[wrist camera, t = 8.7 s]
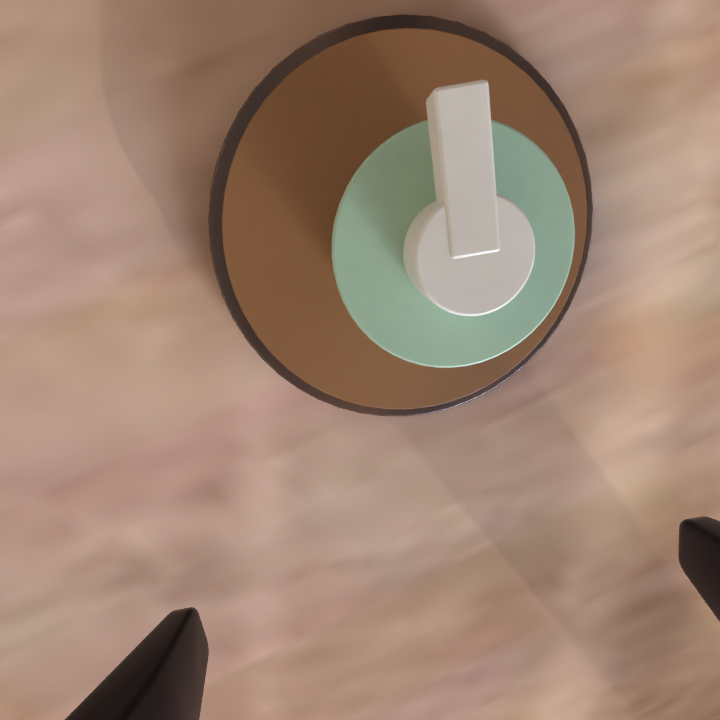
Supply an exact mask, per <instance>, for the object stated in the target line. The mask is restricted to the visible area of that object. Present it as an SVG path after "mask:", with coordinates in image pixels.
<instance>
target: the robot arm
mask: <svg viewBox="0 0 720 720" xmlns="http://www.w3.org/2000/svg"><path fill="white" fill-rule="evenodd" d="M679 562H680V565H681V567H682V569H683V571H684V572H685V574H686V575H687V577H688V578H689V580H690V581H691V582H692V584H693V585H694V587H695V588H696V589H697V591H698V592H699V593H700V595H701V596H702V598H703V599H704V600H705V602H706V603H707V605H708V606H709V607H710V609H711V610H712V612H713V613H714V614H715V616H716V617H717V619H718V620H719V621H720V521H718V520H715V519H712V518H709V517H696V518H690V519H685V520H683V521H682V522H681V524H680V527H679ZM208 652H209V650H208V642H207V638H206V635H205V632H204V629H203V626H202V622H201V619H200V616H199V613H198V611H197V610H196V609H195V608H193V607H190V608H185V609H179V610H175V611H172V612H171V613H170V614H168V615H167V616H166V617H165V618H164V619H163V620H162V621H161V622H160V623H159V625H158V626H157V627H156V628H155V629H154V630H153V631H152V632H151V633H150V634H149V635H148V636H147V637H146V638H145V639H144V640H143V641H142V642H141V643H140V644H139V645H138V646H137V647H136V648H135V649H134V650H133V651H132V652H131V653H130V654H129V655H128V656H127V657H126V658H125V659H124V660H123V661H122V662H121V663H120V664H119V665H118V666H117V667H116V668H115V669H114V670H113V671H112V672H111V673H110V674H109V675H108V676H107V677H106V678H105V679H104V680H103V681H102V682H101V683H100V684H99V685H98V687H97V688H96V689H95V690H94V691H93V692H92V693H91V694H90V695H89V696H88V697H87V698H86V699H85V700H84V701H83V702H82V703H81V704H80V705H79V706H78V707H77V708H76V709H75V710H74V711H73V712H72V713H71V714H70V715H69V716H68V717H67V718H66V719H65V720H199V717H200V710H201V703H202V696H203V689H204V683H205V676H206V669H207V662H208Z"/></svg>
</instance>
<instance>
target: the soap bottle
mask: <svg viewBox="0 0 720 720" xmlns="http://www.w3.org/2000/svg"><path fill="white" fill-rule="evenodd" d="M586 219H587V204H586V192H585V183H584V178H583V173H582V169H581V164H580V159H579V157H578V154H577V151H576V148H575V145H574V142H573V140H572V137H571V135H570V133H569V131H568V129H567V127H566V125H565V123H564V121H563V119H562V117H561V115H560V113H559V112H558V110H557V109H556V108H555V106H554V105H553V103H552V102H551V101H550V99H549V98H548V96H547V95H546V93H545V92H544V91H543V90H542V89H541V88H540V87H539V86H538V85H537V84H536V83H535V81H534V80H533V79H532V78H531V77H530V76H529V75H528V74H527V73H526V72H524V71H523V70H522V69H521V68H519V67H518V66H517V65H516V64H514V63H513V62H512V61H510V60H509V59H508V58H507V57H505V56H503V55H501V54H500V53H498V52H496V51H494V50H493V49H491V48H489V47H487V46H486V45H484V44H481V43H479V42H476V41H474V40H471V39H468V38H466V37H463V36H461V35H457V34H452V33H448V32H443V31H439V30H434V29H419V28H399V29H388V30H379V31H375V32H371V33H367V34H363V35H359V36H355V37H352V38H350V39H347V40H345V41H343V42H340V43H338V44H335V45H333V46H330V47H328V48H327V49H325V50H323V51H322V52H320V53H318V54H317V55H315V56H313V57H312V58H310V59H308V60H307V61H305V62H304V63H303V64H302V65H300V66H299V67H298V68H297V69H295V70H294V71H293V72H292V73H290V74H289V75H288V76H287V77H286V78H284V79H283V81H282V82H281V83H280V84H279V85H278V86H277V87H276V88H275V89H274V90H273V91H272V92H271V93H270V95H269V96H268V97H267V98H266V99H265V101H264V102H263V103H262V105H261V106H260V108H259V109H258V111H257V112H256V113H255V115H254V116H253V118H252V119H251V121H250V123H249V125H248V126H247V128H246V130H245V132H244V134H243V136H242V138H241V140H240V142H239V144H238V147H237V149H236V152H235V155H234V158H233V161H232V164H231V166H230V169H229V174H228V178H227V183H226V188H225V192H224V200H223V213H222V235H223V249H224V254H225V260H226V266H227V271H228V274H229V278H230V281H231V284H232V287H233V290H234V294H235V296H236V298H237V300H238V302H239V305H240V307H241V309H242V311H243V313H244V316H245V317H246V319H247V320H248V322H249V324H250V325H251V327H252V328H253V330H254V332H255V333H256V335H257V336H258V338H259V339H260V340H261V341H262V342H263V344H264V345H265V346H266V347H267V349H268V350H269V351H270V352H271V353H272V354H273V355H274V356H275V357H276V358H277V359H278V360H279V361H280V362H281V363H282V364H283V365H284V366H285V367H286V368H287V369H289V370H290V371H291V372H293V373H294V374H295V375H297V376H298V377H299V378H301V379H302V380H304V381H305V382H306V383H308V384H310V385H312V386H314V387H315V388H317V389H319V390H321V391H323V392H324V393H327V394H329V395H332V396H334V397H337V398H339V399H342V400H344V401H348V402H352V403H355V404H359V405H363V406H368V407H376V408H383V409H414V408H423V407H431V406H435V405H439V404H443V403H448V402H451V401H454V400H457V399H459V398H462V397H465V396H468V395H470V394H472V393H474V392H476V391H478V390H480V389H482V388H484V387H486V386H488V385H490V384H491V383H493V382H494V381H496V380H497V379H499V378H500V377H502V376H503V375H505V374H506V373H508V372H509V371H510V370H512V369H513V368H514V367H515V366H516V365H517V364H519V363H520V362H521V361H522V360H523V359H525V358H526V357H527V355H528V354H529V353H530V352H531V351H532V350H533V349H534V348H535V347H536V346H537V345H538V344H539V343H540V342H541V340H542V339H543V338H544V336H545V335H546V333H547V332H548V331H549V329H550V328H551V327H552V325H553V324H554V323H555V321H556V319H557V317H558V316H559V314H560V312H561V310H562V309H563V307H564V305H565V303H566V301H567V299H568V297H569V294H570V292H571V289H572V287H573V285H574V282H575V280H576V276H577V273H578V269H579V266H580V263H581V259H582V254H583V248H584V242H585V236H586Z"/></svg>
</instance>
